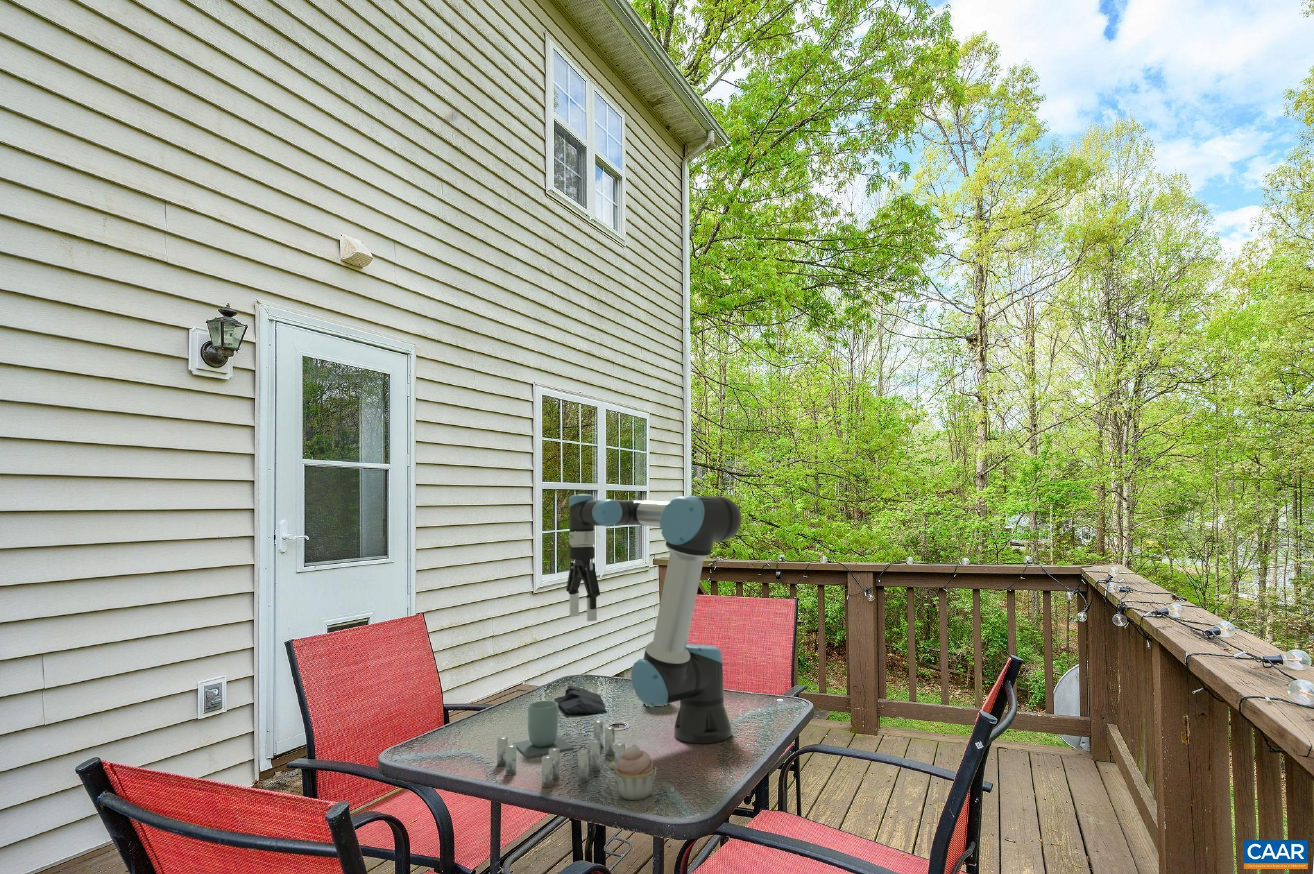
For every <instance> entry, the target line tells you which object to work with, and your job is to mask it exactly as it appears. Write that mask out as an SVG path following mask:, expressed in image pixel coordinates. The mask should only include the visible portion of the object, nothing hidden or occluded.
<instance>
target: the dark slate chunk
mask: <svg viewBox="0 0 1314 874" xmlns="http://www.w3.org/2000/svg"><path fill="white" fill-rule="evenodd" d="M553 701H555V702H557V703H558V707H559V706H560V708H561V709H562V710H563V712H565V713H566V712H567V714H568V715H575V714H576V715H579V713H586V715H591V714H592V713H600V714H605V713H607V712H608V710H607V709H605V707H606V705H605V703H604V701H603V698H602V697H601V695H600V694H599V693H595V692H592V691H589V690H588V689H585V688H583V687H578V686H574V685H567V689H565V692H564V695H563V696H558V697H556V698H554V700H553ZM606 710H607V711H606ZM604 712H605V713H604ZM590 713H591V714H590Z"/></svg>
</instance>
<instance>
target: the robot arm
mask: <svg viewBox="0 0 1314 874" xmlns="http://www.w3.org/2000/svg"><path fill="white" fill-rule="evenodd" d="M568 503H569V504H568V522H569V523H568V527H569V532H568V533H569V535H568V536H567V537H568V539H569V545H570V546H571V547H569V548H568V549H569V559H570V560H571V561H570V562H569V571H568V578H567V584H566V589H565V591H566V592H568V595H569V617H579V616H580V611H579V610H580V607H579V606H580V602H579V601H580V599H579V597H580V596H579V594H580V591H579V588H580V585H581V582H583V584H584V587H585V591H586V593H587V594H586V597H585V598H586V621H587V622H595V621H598V616H597V598H598V597H599V596H601V590H600V587H599V581H598V577H597V572H596V563H595V562H590V561H591V560H594V559H595V557H596V555H595V553H596V551H595V547H594V546H593V545H595V543H596V541H595V527H598V526H599V527H601V526H602V527H607V526H608V527H611V526H641V527H642V526H643V527H646V526H647V527H655V528H657V527H658V528H659V529H660V530H661V536H662V537H663V539H664V540H665V547H666V548H667V550H668V551H669V557H668V562H667V567H666V572H665V578H664V583H663V586H662V587H663V588H662V594H661V598H660V604H659V609H658V614H657V618H656V624H655V629H654V632H653V633H654V634H653V640H652V641H651V642H648V644H646V645H645V650H644V655H643V658H639V659H638V660H637V661H635V662H634V663H633V665H632V668H631V673H630V678H631V684H632V688H633V690H634V693H635V696H636V697H637V698H638V699H639V701H640V702H641V703H642V704H643V703H644V704H645V705H647V706H651V707H650V708H655V707H654V706H659V705H660V706H663V707H665V706H664V705H665V704H668V703H669V704H671V703H675V702H679V709H678V711H677V715H676V719H675V723H674V728H673V730H674V732H673V733H674V737H675V738H676V739H677V740H679V741H682V742H686V743H691V744H712V743H713V744H715V743H720V742H724V741H726V740H728V739H730V738H731V737H732V724H731V721H730V719H729V716H728V712H727V711H726V707H725V703H724V702H725V701H724V673H723V672H724V668H723V666H724V662H723V656H722V655H723V653H722V651H721V650H720V649H719V648H718V647H717V646H713V645H705V644H703V645H702V644H691V643H690V644H689V643H688V640H689V635H690V634H689V633H690V630H691V625H692V620H693V615H694V610H695V605H696V599H697V595H698V591H699V590H698V589H699V585H700V581H701V576H702V575H701V574H702V569H703V565H704V560H705V559H706V558H708V557H710V556H711V555H712V551H713V545H714V543H719V542H726V541H728V540H731V539H732V538H733V537H734V536H736V535H737V534H738V532H739V531H740V529H741V525H742V520H743V517H742V513H741V509H740V508H739V506H738V505H737V503H735V502H734V500H732V499H730V498H728V497H724V496H721V495H720V496H718V495H717V496H716V495H715V496H713V495H711V496H710V495H707V496H705V495H703V496H702V495H691V494H690V495H689V494H688V495H683V496H677V497H675V498H673V499H671V500H670V501H669V500H668V501H665V500H663V501H662V500H646V499H627V500H626V499H611V498H610V499H609V498H603V499H598V500H595V497H594V495H593V494H573V495H570V497H569V502H568ZM669 704H668V705H669ZM645 705H644V706H645ZM647 706H646V707H647ZM730 736H731V737H730ZM729 737H730V738H729ZM727 738H728V739H727ZM723 740H724V741H723ZM714 742H715V743H714Z"/></svg>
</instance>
